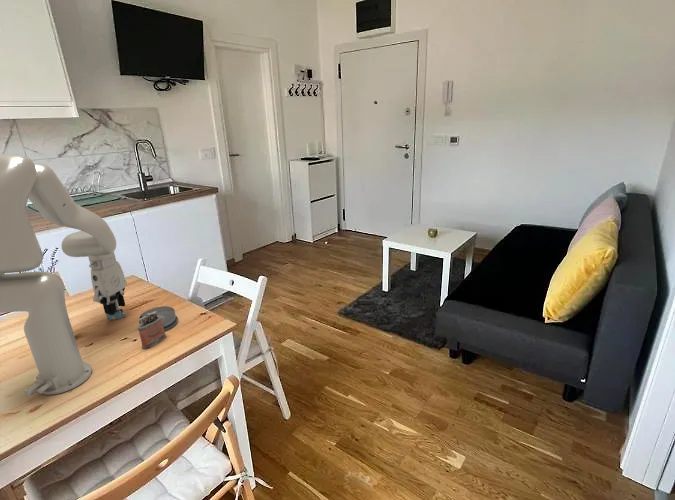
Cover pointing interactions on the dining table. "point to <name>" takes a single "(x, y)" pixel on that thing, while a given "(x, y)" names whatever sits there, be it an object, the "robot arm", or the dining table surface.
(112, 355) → the dining table surface
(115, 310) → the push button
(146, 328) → the lighter
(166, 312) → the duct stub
